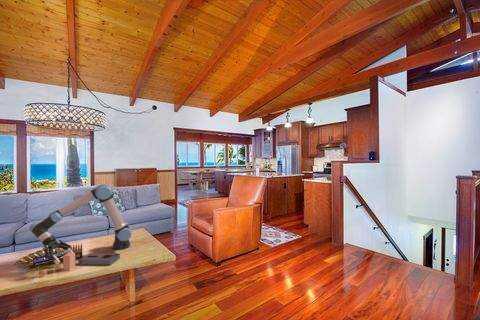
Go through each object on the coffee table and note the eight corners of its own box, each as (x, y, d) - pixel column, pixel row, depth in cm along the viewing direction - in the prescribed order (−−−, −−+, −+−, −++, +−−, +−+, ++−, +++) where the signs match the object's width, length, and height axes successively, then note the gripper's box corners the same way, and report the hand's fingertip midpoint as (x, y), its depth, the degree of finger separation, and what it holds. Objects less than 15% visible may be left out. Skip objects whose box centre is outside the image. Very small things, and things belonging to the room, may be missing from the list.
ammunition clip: (82, 257, 189) (82, 243, 189) (82, 258, 187) (82, 243, 187) (66, 260, 182) (66, 246, 182) (66, 261, 180) (66, 246, 181)
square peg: (68, 267, 170) (68, 253, 170) (74, 267, 170) (75, 253, 170) (63, 270, 165) (63, 255, 165) (69, 270, 165) (69, 255, 165)
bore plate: (89, 258, 187) (89, 253, 187) (119, 258, 186) (119, 253, 186) (78, 265, 174) (78, 259, 174) (110, 265, 173) (110, 260, 173)
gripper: (57, 237, 180) (75, 255, 180) (27, 248, 155) (47, 270, 155) (64, 230, 180) (81, 249, 180) (35, 241, 155) (55, 262, 155)
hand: (66, 259), depth 167 cm, fingers open, 13 cm apart
